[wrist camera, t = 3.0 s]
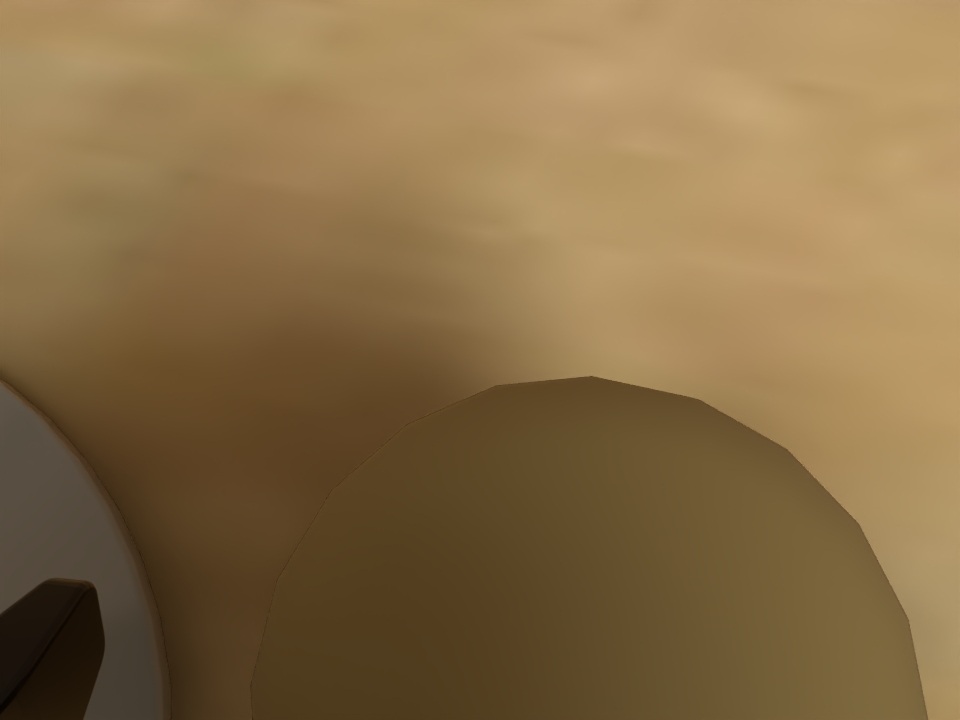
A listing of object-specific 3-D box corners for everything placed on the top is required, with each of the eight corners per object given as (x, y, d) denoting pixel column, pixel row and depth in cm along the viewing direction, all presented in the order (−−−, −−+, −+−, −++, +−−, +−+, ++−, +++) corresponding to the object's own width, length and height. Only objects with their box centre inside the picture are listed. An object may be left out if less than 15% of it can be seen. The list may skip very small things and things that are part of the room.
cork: (262, 647, 16) (-87, 827, 5) (475, 388, 17) (539, 110, 7) (529, 878, 16) (735, 1594, 5) (731, 593, 17) (1259, 656, 6)
